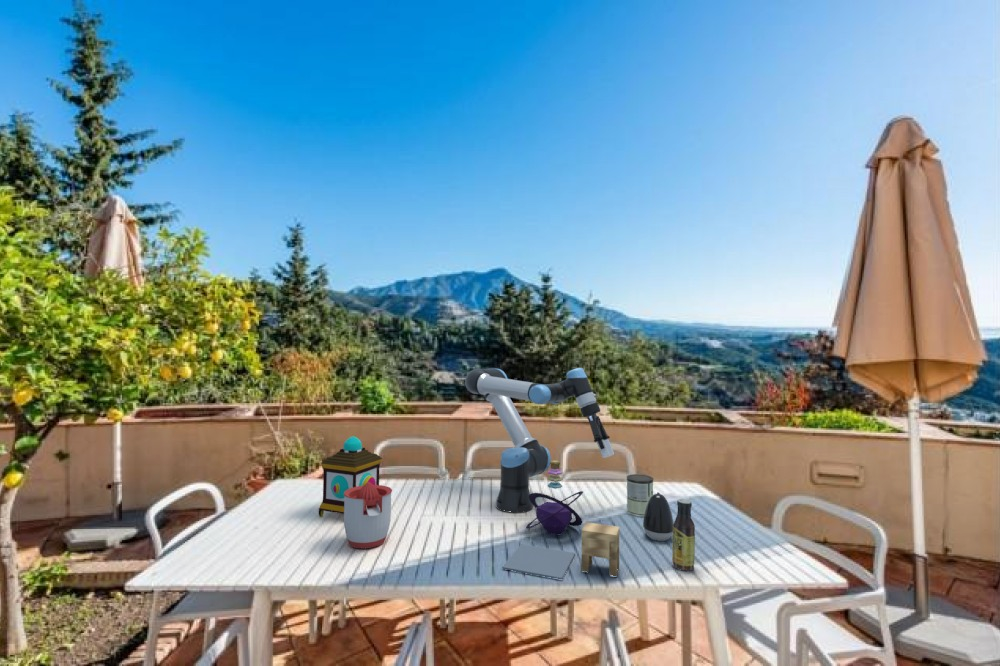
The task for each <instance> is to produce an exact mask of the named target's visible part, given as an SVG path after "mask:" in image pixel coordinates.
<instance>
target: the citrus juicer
mask: <svg viewBox="0 0 1000 666" xmlns="http://www.w3.org/2000/svg"><path fill="white" fill-rule="evenodd" d="M392 492H393V490H392V488H391V487H389V486H387V485H382V484H379V485H372V484H371V483H370V482H367V483H366V484H365V485H363V486H357V487H353V488H350V489H348V490H346V491H345V492H344V495H345V498H344V514H343V527H344V532H345V537H346V540H347V542H348V543H347V544H348V545H349V546H350V547H351V548H354V549H357V548H361V549H370V548H371V549H372V548H376V547H378V546H381V545H383V544H384V543H385V541H386V540H387V536H388V532H389V529H390V524H391V519H392V518H391V515H392V514H391V513H392Z"/></svg>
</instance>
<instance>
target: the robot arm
mask: <svg viewBox="0 0 1000 666" xmlns="http://www.w3.org/2000/svg"><path fill="white" fill-rule="evenodd" d="M464 383H465V387H466V389H467V391H468V392H469V393H472V394H474V395H475V394H476V395H482V396H484V399H485V400H486V401H487V402H490V403H491V405H492V406H493V408H494V410H495V411H496V414H497V415H498V417H499V419H500V421H501V423H502V424H503V427H504V428H505V431H506V432H507V433H506V434H508V436H509V438H510V439H511V442H512V444H513V446H514V447H509V448H506V449H504V450H503V451H502V452H501V455H500V489H499V492H498V494H497V495H498V496H497V498H496V501H495V502H496V503H495V504H496V505H495V507H496V506H497V507H498V508H499V509H501V510H505V511H511V512H520V513H524V512H523V511H526V512H529V511H531V510H532V509H533V508H534V506H533V504H532V503H531V502H530V500H529V495H530V494H531V491H530V488H529V486H530V478H533V477H535V476H537V475H538V476H539V475H541V474H543V473H545V472H546V471H548V470H549V468H550V467H551V464H550V461H552V456H551V453H550V450H549V449H548V448H547V447H546V446H543V445H540V443H539V441H538V439H537V438H533V437H532V435H531V433H530V431H529V430H528V428H527V426H526V424H525V422H524V420H523V419H522V417H521V416H520V414H519V412H518V410H517V408H516V407H515V404H514V403H513V401H512V399H517V400H524V401H529V402H532V403H533V404H535V405H545V404H551V405H557V404H561V403H562V402H564V401H566V400H567V399H570V398H571V397H574V398H575V400H576V403H577V405H578V408H580V409H579V410H580V413H581V415H582V417H583V418H587V420H588V423H589V425H590V429H591V432H592V436H593V442H594V443H596V445H597V446H598V449H599V452H600V454H601V458H602V459H606V458H609V457H612V456H614V455H615V452H614V449H613V447H612V445H611V442H610V435H609V434H608V433H607V432H606V429H605V427H604V426H603V423H602V421H601V418H600V416H599V415H597V414H599V413H600V412H601V408H600V405H599V403H598V402H597V399H596V396H597V394H596V393H594V391H593V389H592V387H591V384H590V382H589V379H588V376H587V374H586V372H585V371H584V369H583V368H582V367H577V368H574V369H571V370H569V371H567V373H566V379H564V380H562V381H560V382H557V383H548V384H547V383H546V384H545V383H544V384H543V383H535V382H529V381H524V380H523V381H522V380H517V379H511V378H508V376H507V374H506V373H505V372H504V370H502V369H500V368H495V367H489V368H474V369H471V370H470V371H469V372H468V373H467V374H466V376H465V381H464ZM511 398H512V399H511ZM497 507H496V508H497ZM498 508H497V509H498ZM499 509H498V510H499ZM530 509H531V510H530ZM501 510H500V511H501ZM528 510H529V511H528ZM505 511H504V512H505ZM511 512H510V513H511Z"/></svg>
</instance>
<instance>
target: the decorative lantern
mask: <svg viewBox="0 0 1000 666" xmlns="http://www.w3.org/2000/svg"><path fill="white" fill-rule="evenodd" d="M362 445H363V444H362V441H361V440H360V439H359V438H358V437H357V436H350V437H348V438H347V439H346V440H345V441H344V443H343V447H342V448H340V449H339V451H338V452H336V453H335V454H333V455H331V456H328V457H326V458H325V459H324V460H322V461H321V462H320V466H321V467H322V470H323V477H322V478H323V480H322V481H323V482H322V483H323V484H322V485H323V486H322V501H321V503H320V505H319V508H318V516H319V517H320V518H322V517H323V516H324V512H331V513H335V514H342V515H344V498H345V495H344V492H345V491H346V490H348V489H350V488H353V487H357V486H363V485H365V484H366V483H367V482H370V483H371V484H372V485H380V465H381V462H382V461H383V457H381V455H378V454H377V453H374V452H373V453H372V452H370V451H369V450H368V449H366V448H365V447H363V446H362Z"/></svg>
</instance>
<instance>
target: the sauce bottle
mask: <svg viewBox="0 0 1000 666" xmlns="http://www.w3.org/2000/svg"><path fill="white" fill-rule="evenodd" d="M676 505H677V514H676V517H675V519H674V521H673V523H674V525H673V533H672V555H671V557H672V565H673V566H675V567H674V568H676V569H678V570H679V569H681V570H680V571H685V570H689V571H693V570H694V568H695V557H696V556H695V553H696V551H695V550H696V549H695V548H696V547H695V543H696V533H695V532H696V529H695V528H696V525H695V522H694V521H693V519H692V507H693V506H692V505H693V504H692V501H691V500H689V499H687V498H686V499H685V498H679V499H677V503H676ZM692 569H693V570H692Z"/></svg>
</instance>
